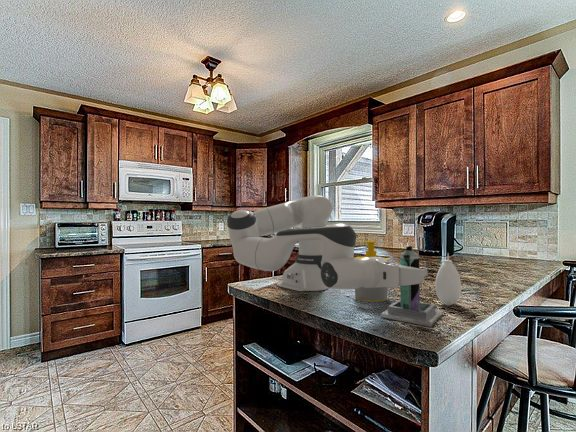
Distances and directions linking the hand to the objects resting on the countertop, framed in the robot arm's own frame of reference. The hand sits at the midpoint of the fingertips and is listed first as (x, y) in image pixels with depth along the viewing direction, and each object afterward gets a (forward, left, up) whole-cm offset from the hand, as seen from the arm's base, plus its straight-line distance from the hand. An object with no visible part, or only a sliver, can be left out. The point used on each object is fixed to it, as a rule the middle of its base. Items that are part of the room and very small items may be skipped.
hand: (414, 269), depth 100 cm
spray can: (-1, -1, -13) cm, 13 cm away
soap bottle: (-20, +13, -14) cm, 28 cm away
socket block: (-1, -1, -14) cm, 14 cm away
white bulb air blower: (+5, +20, -14) cm, 25 cm away
